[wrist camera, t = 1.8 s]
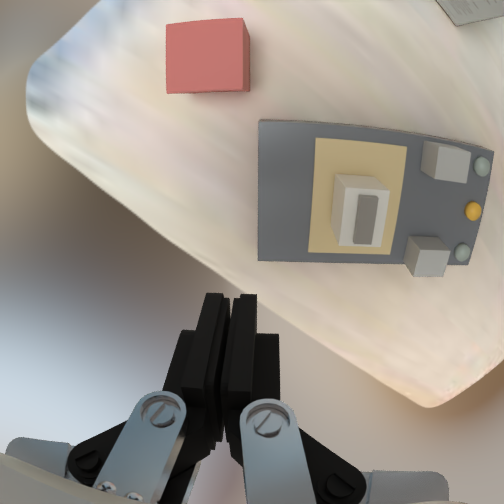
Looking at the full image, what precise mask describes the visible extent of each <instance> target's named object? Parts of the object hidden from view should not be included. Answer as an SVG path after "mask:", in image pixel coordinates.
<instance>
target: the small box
mask: <svg viewBox="0 0 504 504" xmlns="http://www.w3.org/2000/svg"><path fill="white" fill-rule="evenodd" d="M437 2H438V3H439V4H440V5H441V7H442V8H443V9H444V10H445V12H446V13H447V14H448V16H449V17H450V18H451V20H452V21H453V23H454V24H455V25H456V26H460V25H464V24H468V23H472V22H478V21H483V20H487V19H492V18H497V17H502V16H504V0H437Z"/></svg>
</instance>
